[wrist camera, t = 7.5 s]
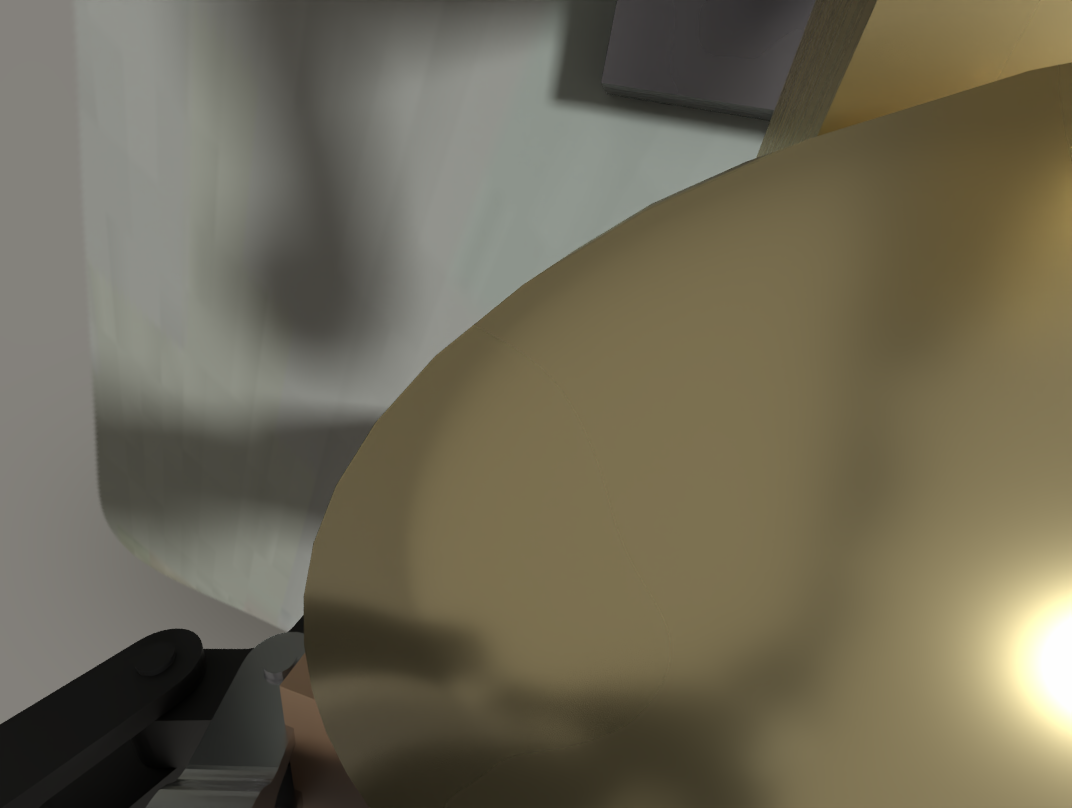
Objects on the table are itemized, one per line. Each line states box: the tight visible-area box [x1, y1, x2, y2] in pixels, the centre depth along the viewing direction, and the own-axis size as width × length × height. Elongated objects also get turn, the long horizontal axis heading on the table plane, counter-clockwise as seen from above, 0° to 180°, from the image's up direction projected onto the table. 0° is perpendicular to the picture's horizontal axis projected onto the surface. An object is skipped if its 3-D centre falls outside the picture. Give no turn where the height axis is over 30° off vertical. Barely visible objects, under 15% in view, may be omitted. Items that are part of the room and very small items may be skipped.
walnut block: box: [280, 653, 369, 808], centre depth 10 cm, size 4×4×6 cm
